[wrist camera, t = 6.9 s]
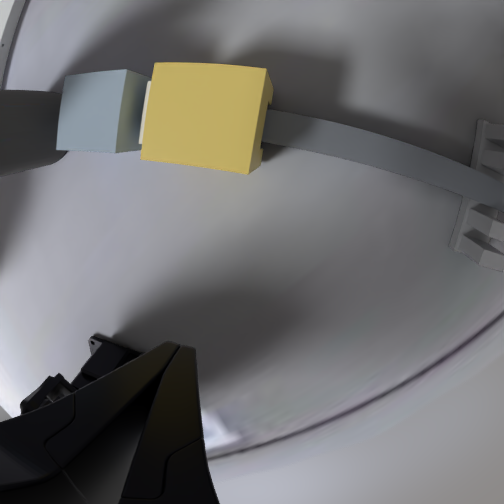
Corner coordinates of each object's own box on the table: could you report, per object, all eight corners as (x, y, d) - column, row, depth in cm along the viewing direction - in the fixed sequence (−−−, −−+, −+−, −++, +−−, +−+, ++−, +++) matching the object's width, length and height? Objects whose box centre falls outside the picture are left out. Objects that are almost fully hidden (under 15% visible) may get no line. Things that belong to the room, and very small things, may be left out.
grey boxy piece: (506, 135, 13) (538, 139, 10) (478, 255, 17) (504, 275, 13) (477, 119, 14) (509, 118, 10) (448, 246, 17) (474, 267, 14)
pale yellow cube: (273, 89, 15) (266, 68, 10) (260, 165, 17) (248, 174, 12) (189, 80, 15) (154, 62, 11) (178, 153, 17) (140, 159, 12)
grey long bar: (502, 166, 14) (541, 176, 10) (487, 225, 16) (523, 246, 12) (102, 83, 16) (61, 76, 12) (94, 144, 18) (52, 149, 14)
